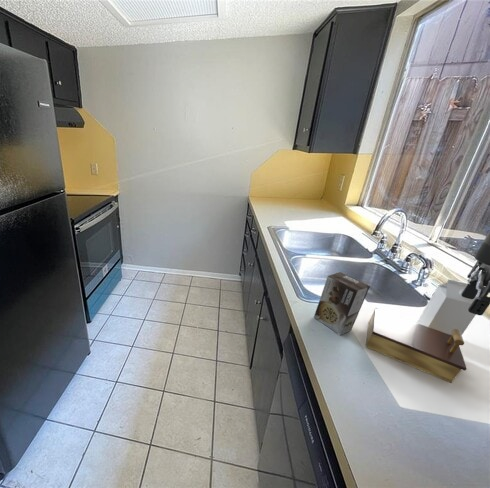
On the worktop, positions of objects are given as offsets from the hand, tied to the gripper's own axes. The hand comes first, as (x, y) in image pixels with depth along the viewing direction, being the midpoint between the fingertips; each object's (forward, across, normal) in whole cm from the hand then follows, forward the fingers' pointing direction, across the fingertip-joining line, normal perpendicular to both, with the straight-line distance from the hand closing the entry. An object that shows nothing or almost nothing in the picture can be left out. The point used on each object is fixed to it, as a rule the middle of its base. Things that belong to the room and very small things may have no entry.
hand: (470, 305), depth 63 cm
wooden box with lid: (+18, -1, +6) cm, 19 cm away
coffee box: (+18, -3, +24) cm, 31 cm away
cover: (+13, -1, +6) cm, 15 cm away
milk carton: (+18, +12, -1) cm, 22 cm away
